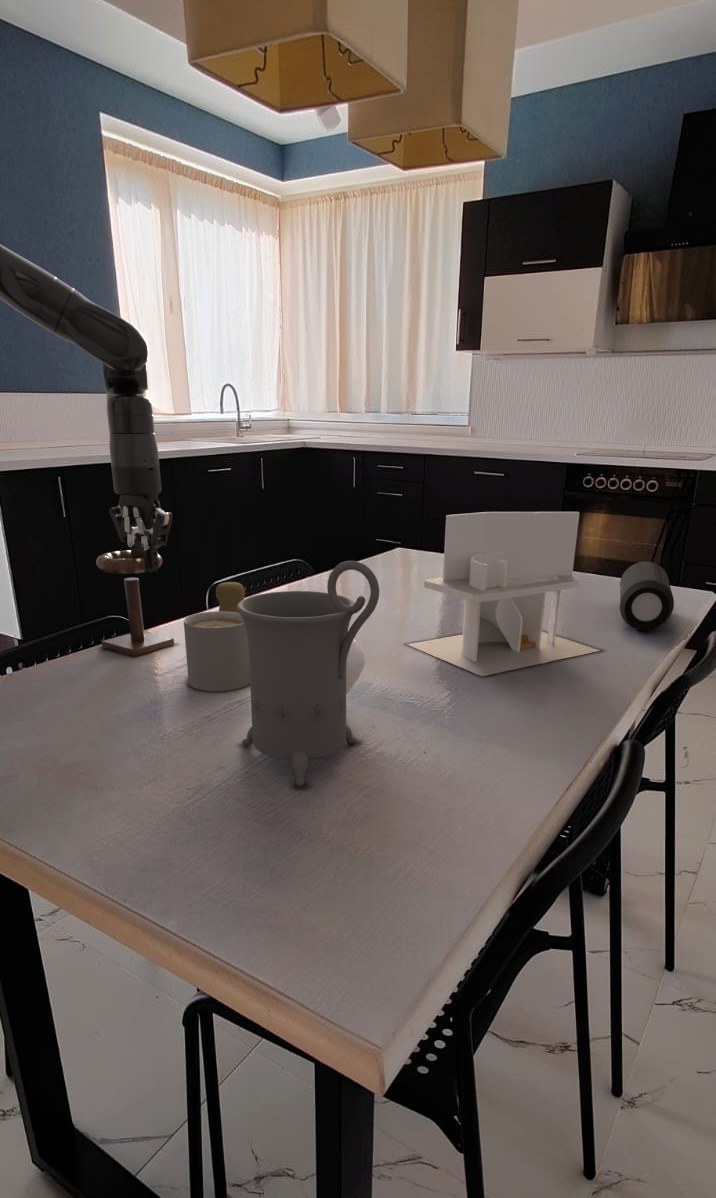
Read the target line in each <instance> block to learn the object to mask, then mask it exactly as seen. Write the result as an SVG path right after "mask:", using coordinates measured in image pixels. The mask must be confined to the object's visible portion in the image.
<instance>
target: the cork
mask: <svg viewBox="0 0 716 1198" xmlns="http://www.w3.org/2000/svg"><path fill="white" fill-rule="evenodd" d="M245 596H246V590H245V587H244V586H243V584H242V583H240V582H235V581H226V582H222V583H219V584H218V585H217V586H216V588H215V597H216V599H217V601H218V602H219V603H218V604H219V606H218V611H225V612H236V613H239V612H238V610H237V605H238V604H239V602H240V601H242V600H244V599H245Z"/></svg>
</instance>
